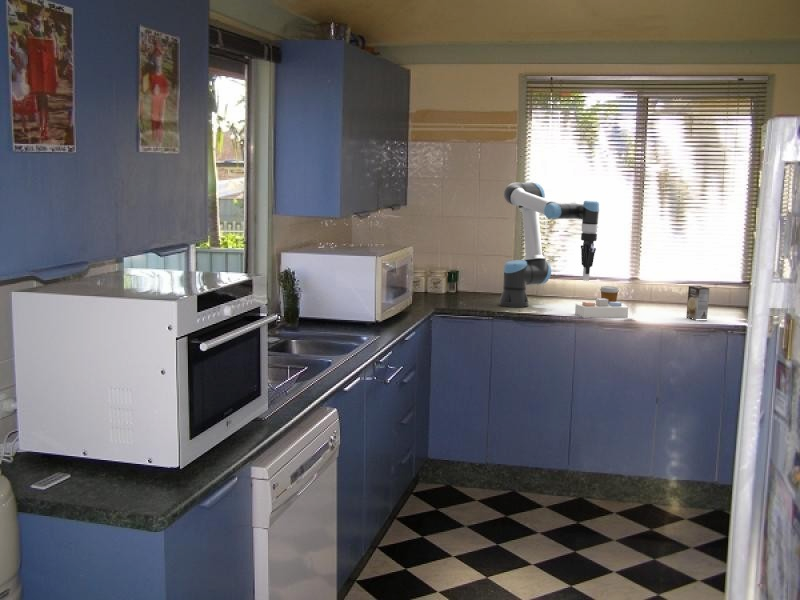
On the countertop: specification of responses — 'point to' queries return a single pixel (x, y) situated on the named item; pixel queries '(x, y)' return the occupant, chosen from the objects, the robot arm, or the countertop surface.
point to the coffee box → (697, 302)
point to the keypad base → (601, 311)
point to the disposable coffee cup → (609, 293)
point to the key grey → (601, 302)
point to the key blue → (614, 303)
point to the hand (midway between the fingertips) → (585, 280)
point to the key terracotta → (588, 304)
